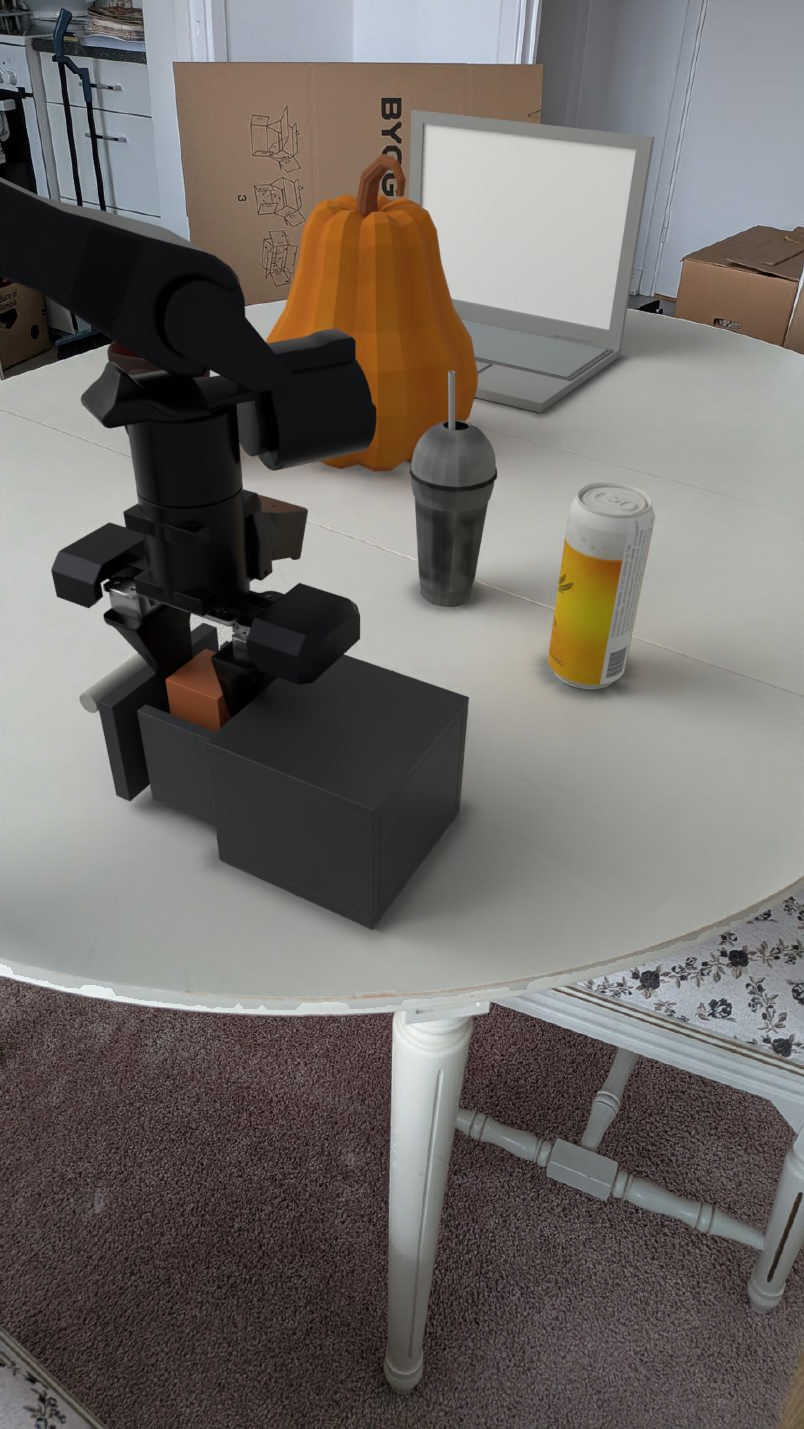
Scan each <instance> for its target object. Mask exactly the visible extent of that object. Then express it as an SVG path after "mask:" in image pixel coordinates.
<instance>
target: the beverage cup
mask: <svg viewBox="0 0 804 1429" xmlns="http://www.w3.org/2000/svg"><path fill="white" fill-rule="evenodd" d="M448 387H449V420H448V421H444V422H441V423H438V424H436V425H434V426H433V427H431V428H430V429H429V430H428V431H427V432H426V433H425V434H424V435H423V436H422V437H421V438H420V440H419V441H418V443H417V445H416V447H415V450H414V453H413V458H412V462H410V466H409V470H408V473H409V475H410V483H411V484H410V485H411V489H412V491H411V492H412V495H413V498H414V509H415V510H414V512H415V529H416V549H417V565H418V566H417V567H418V579H419V583H420V584H419V586H420V595H421V597H422V598H423V599H424V600H425V601H426V602H428V603H430V604H431V605H432V604H433V605H437V606H441V607H454V606H458V605H462V604H464V603H466V602H468V601H469V600H470V598H471V596H472V590H473V586H474V582H475V579H476V574H477V568H478V563H479V556H480V550H481V544H482V541H483V540H482V539H483V534H484V528H485V522H486V518H487V517H486V516H487V512H488V511H487V510H488V505H489V501H490V500H491V498H492V495H493V491H494V489H495V488H494V487H495V482H496V480H497V479H498V469H497V460H496V453H495V451H494V450H495V449H494V447H493V445H492V443H491V441H490V439H489V438H488V436H487V435H486V434H485V432H484V431H482V430H481V429H480V428H479V427H477V426H476V425H474V424H473V423H470V422H469V421H461V420H455V372H454V371H449V372H448Z"/></svg>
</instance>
